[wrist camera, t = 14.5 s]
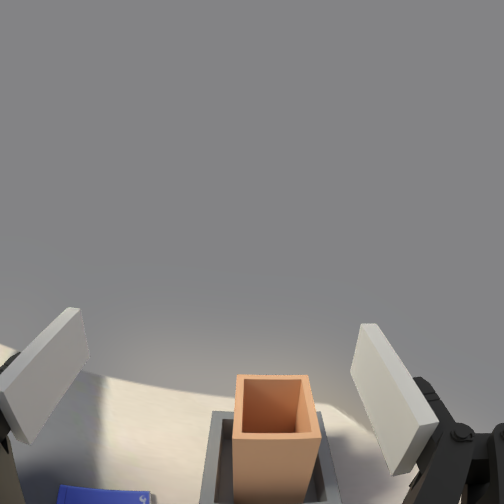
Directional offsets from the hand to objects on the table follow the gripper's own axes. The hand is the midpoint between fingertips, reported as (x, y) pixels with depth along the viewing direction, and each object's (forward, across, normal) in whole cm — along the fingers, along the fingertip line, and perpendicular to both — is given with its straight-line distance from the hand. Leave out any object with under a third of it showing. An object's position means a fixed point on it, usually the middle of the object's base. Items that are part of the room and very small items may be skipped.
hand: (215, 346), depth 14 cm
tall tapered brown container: (+12, +5, -29) cm, 32 cm away
